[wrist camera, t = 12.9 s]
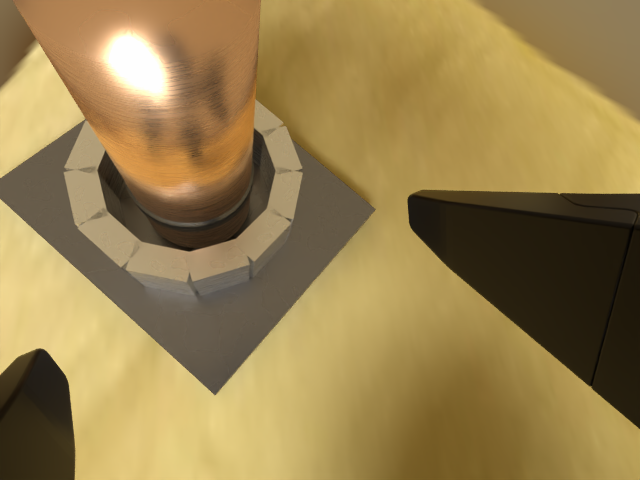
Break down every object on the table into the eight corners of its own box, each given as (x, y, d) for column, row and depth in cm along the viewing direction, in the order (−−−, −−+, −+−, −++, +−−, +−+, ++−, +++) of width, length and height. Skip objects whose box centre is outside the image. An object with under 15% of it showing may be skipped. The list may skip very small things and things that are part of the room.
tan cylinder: (266, 176, 20) (298, -58, 9) (227, 265, 19) (207, 109, 7) (172, 138, 20) (85, -152, 9) (122, 226, 18) (-67, -2, 7)
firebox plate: (370, 216, 22) (395, 184, 18) (216, 393, 18) (209, 400, 14) (187, 63, 23) (176, 3, 19) (0, 196, 19) (-61, 152, 15)
